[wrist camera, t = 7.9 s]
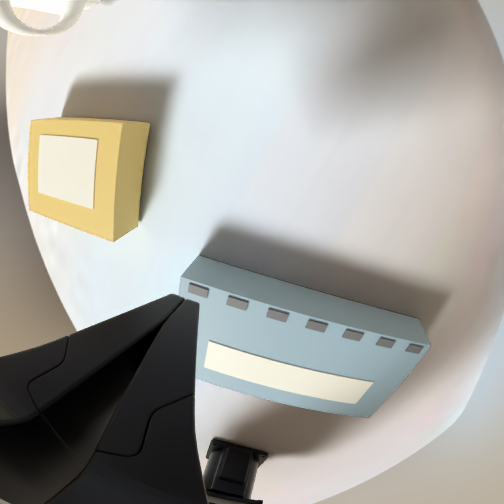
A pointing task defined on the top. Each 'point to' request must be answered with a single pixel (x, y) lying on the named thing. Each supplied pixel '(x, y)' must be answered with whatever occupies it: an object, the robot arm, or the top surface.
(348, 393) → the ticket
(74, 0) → the mug
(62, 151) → the yellow box
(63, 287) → the top surface
